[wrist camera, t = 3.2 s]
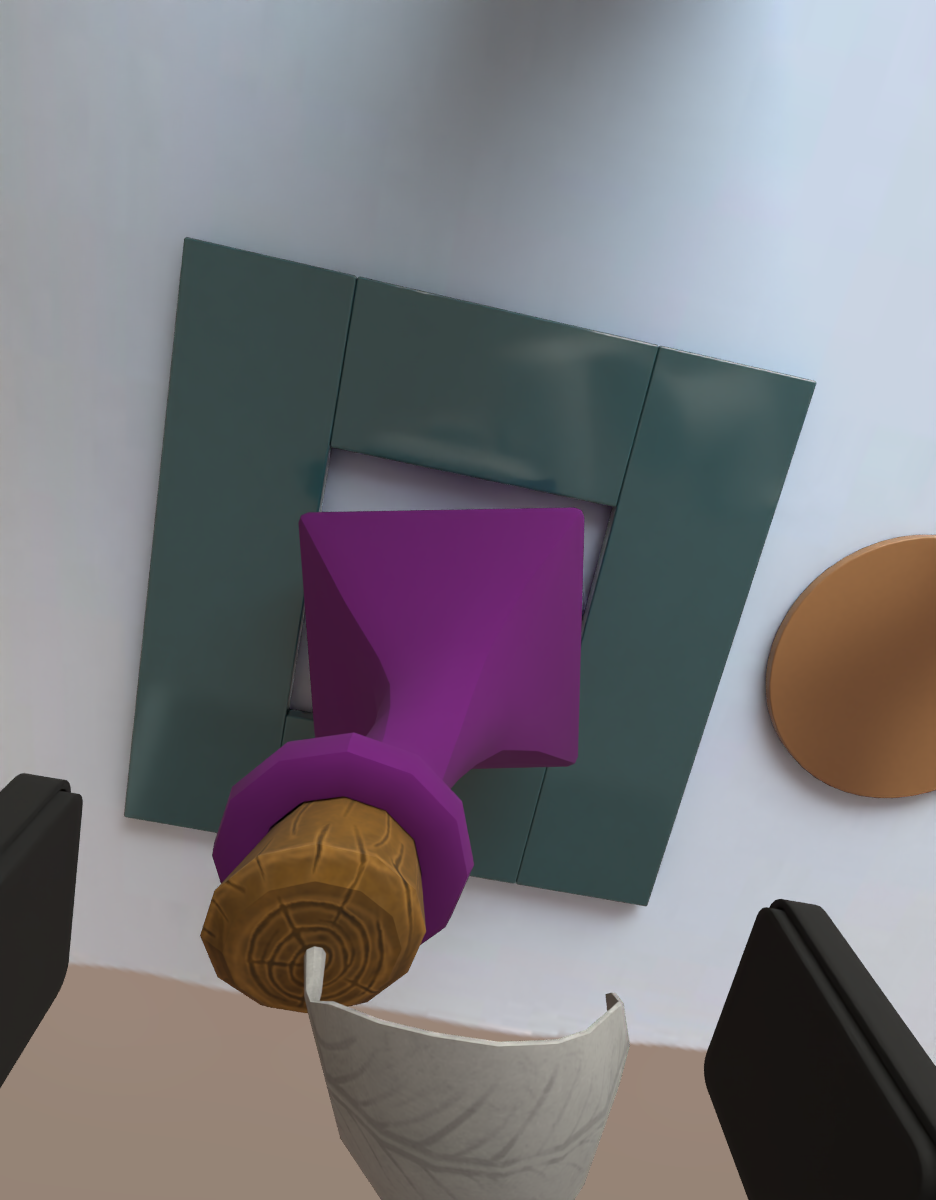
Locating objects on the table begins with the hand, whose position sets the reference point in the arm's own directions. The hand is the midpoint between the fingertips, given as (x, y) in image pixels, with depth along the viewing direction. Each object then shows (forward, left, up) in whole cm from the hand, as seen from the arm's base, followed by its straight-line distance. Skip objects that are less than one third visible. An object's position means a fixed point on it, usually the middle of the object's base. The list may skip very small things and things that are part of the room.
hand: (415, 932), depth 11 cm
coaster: (-15, -1, -15) cm, 21 cm away
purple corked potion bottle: (0, 0, -15) cm, 15 cm away
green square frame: (0, 0, -15) cm, 15 cm away
